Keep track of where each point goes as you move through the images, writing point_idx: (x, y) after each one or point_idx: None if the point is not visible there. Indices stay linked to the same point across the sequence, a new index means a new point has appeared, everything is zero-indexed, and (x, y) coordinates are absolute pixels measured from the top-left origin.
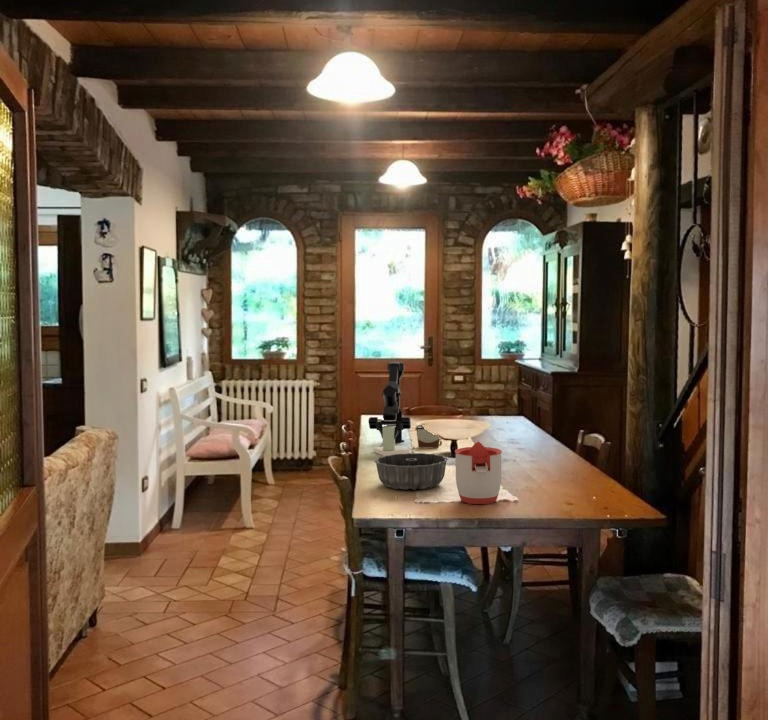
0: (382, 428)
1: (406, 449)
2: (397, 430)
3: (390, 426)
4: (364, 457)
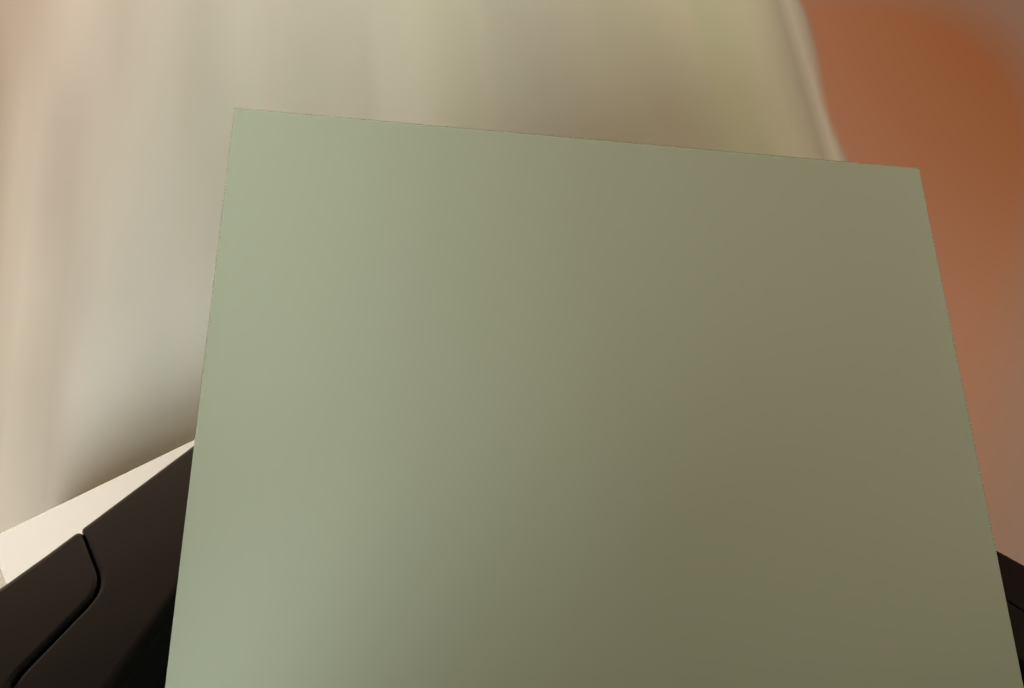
0: (885, 195)
1: (58, 524)
2: (56, 553)
3: (512, 664)
4: None
